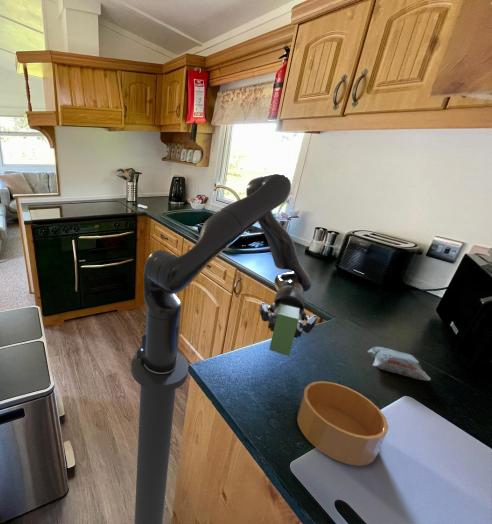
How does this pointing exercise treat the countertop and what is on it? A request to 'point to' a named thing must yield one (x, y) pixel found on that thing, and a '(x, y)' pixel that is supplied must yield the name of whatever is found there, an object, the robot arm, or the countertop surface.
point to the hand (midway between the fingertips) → (284, 331)
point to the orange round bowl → (341, 423)
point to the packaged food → (397, 363)
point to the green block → (284, 329)
